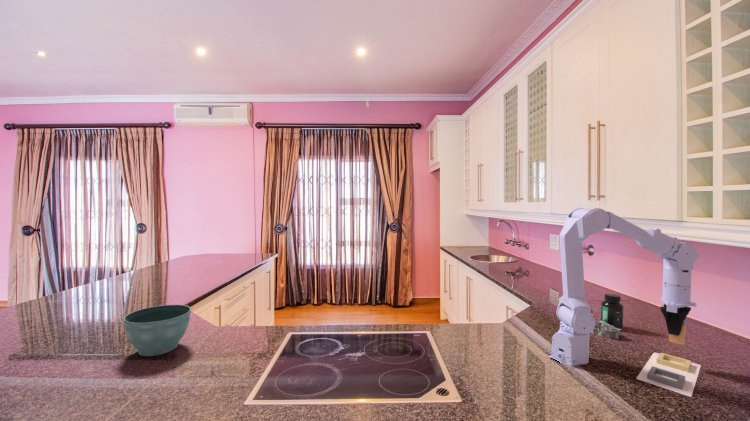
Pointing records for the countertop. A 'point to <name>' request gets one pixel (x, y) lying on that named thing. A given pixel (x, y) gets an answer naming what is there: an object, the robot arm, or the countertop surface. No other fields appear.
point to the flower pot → (157, 328)
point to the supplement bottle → (612, 310)
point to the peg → (681, 337)
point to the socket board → (670, 373)
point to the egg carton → (605, 330)
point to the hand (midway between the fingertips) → (674, 333)
